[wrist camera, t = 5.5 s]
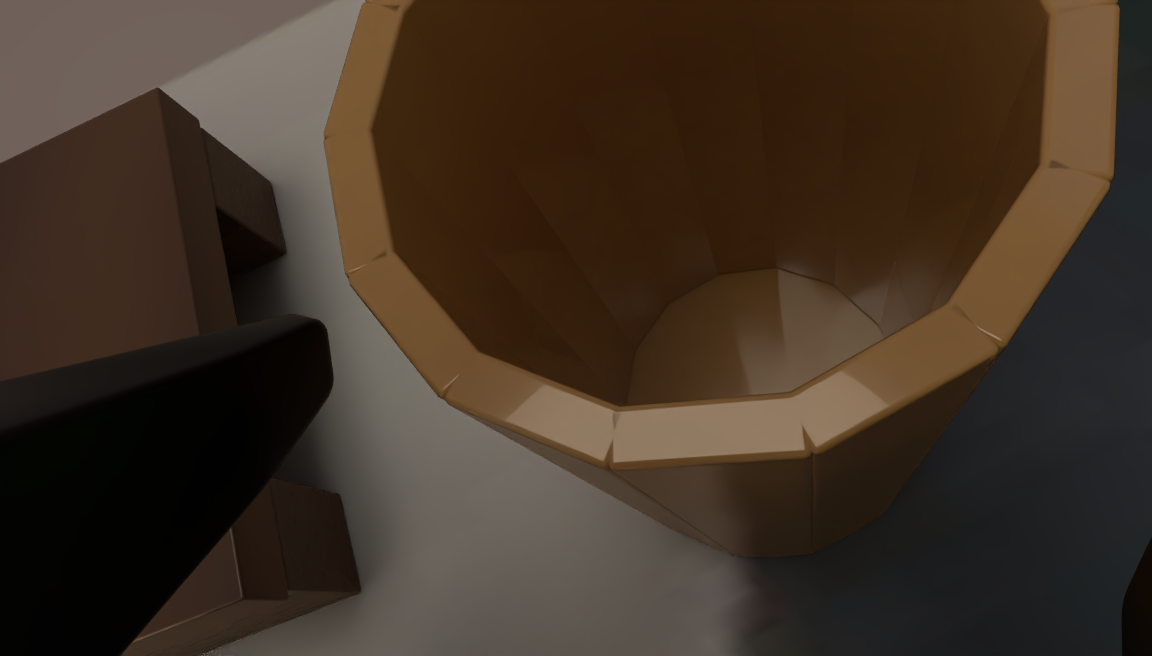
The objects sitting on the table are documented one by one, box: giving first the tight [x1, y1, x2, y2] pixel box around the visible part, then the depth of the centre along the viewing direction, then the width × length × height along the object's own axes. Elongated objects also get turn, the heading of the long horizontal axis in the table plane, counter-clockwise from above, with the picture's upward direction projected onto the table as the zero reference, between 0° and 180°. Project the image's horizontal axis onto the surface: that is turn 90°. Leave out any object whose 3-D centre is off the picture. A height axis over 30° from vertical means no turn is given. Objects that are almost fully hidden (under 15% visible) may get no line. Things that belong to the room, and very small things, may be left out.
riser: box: [0, 88, 361, 656], centre depth 21 cm, size 12×12×4 cm
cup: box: [324, 0, 1120, 557], centre depth 13 cm, size 7×7×12 cm
